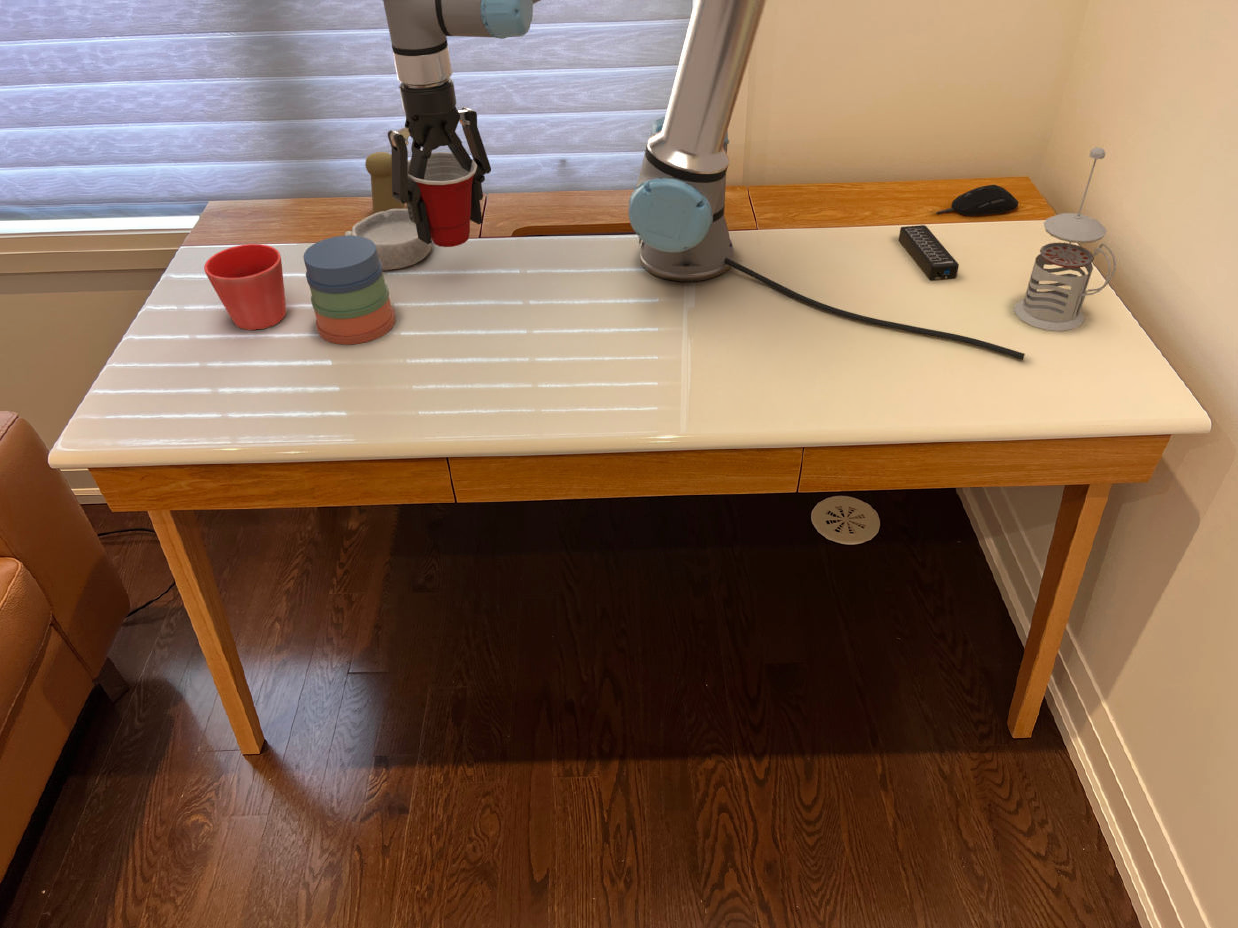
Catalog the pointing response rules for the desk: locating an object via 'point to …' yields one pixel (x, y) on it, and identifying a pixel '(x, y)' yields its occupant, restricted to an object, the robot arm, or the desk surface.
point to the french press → (1064, 304)
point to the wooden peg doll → (382, 182)
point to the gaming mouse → (984, 201)
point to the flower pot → (249, 284)
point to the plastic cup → (447, 198)
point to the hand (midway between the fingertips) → (450, 230)
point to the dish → (393, 238)
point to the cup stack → (348, 290)
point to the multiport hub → (928, 253)
